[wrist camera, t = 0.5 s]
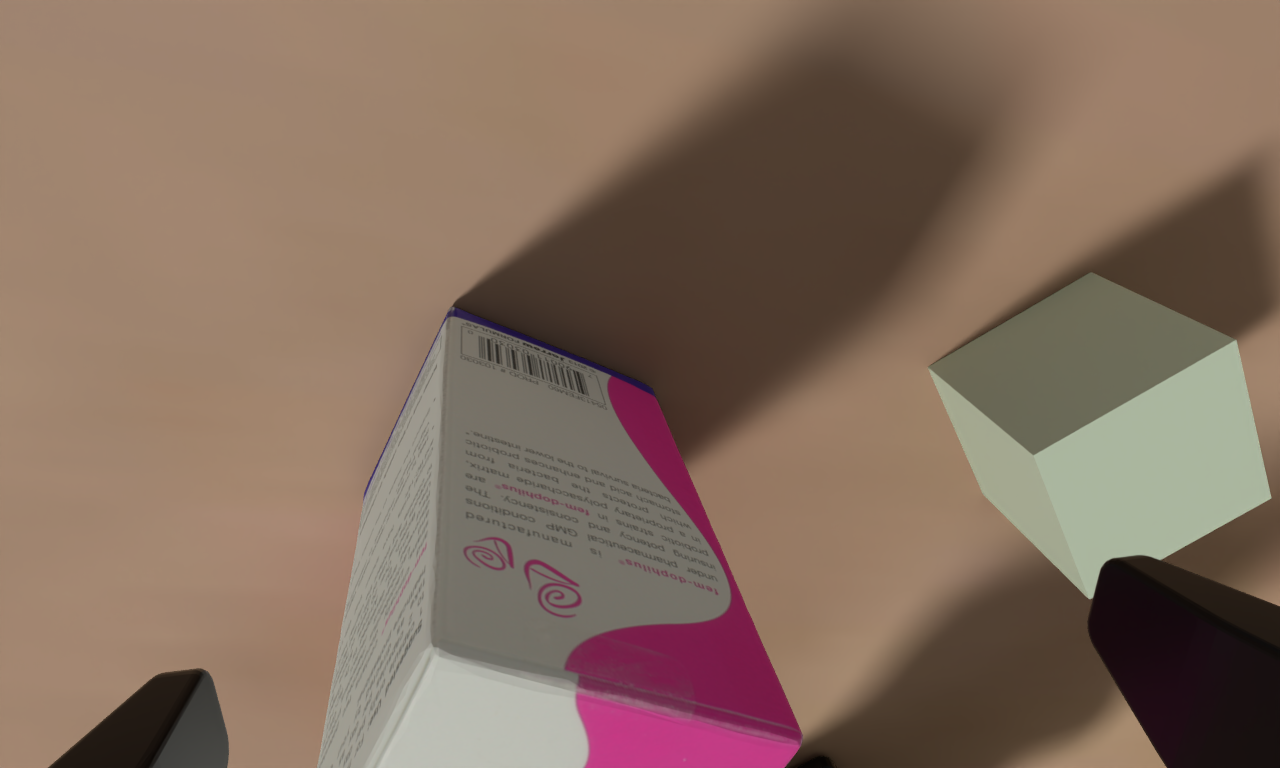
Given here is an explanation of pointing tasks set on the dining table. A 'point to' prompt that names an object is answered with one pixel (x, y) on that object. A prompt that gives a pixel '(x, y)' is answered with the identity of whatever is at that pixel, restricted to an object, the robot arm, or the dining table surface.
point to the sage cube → (1106, 426)
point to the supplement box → (542, 582)
